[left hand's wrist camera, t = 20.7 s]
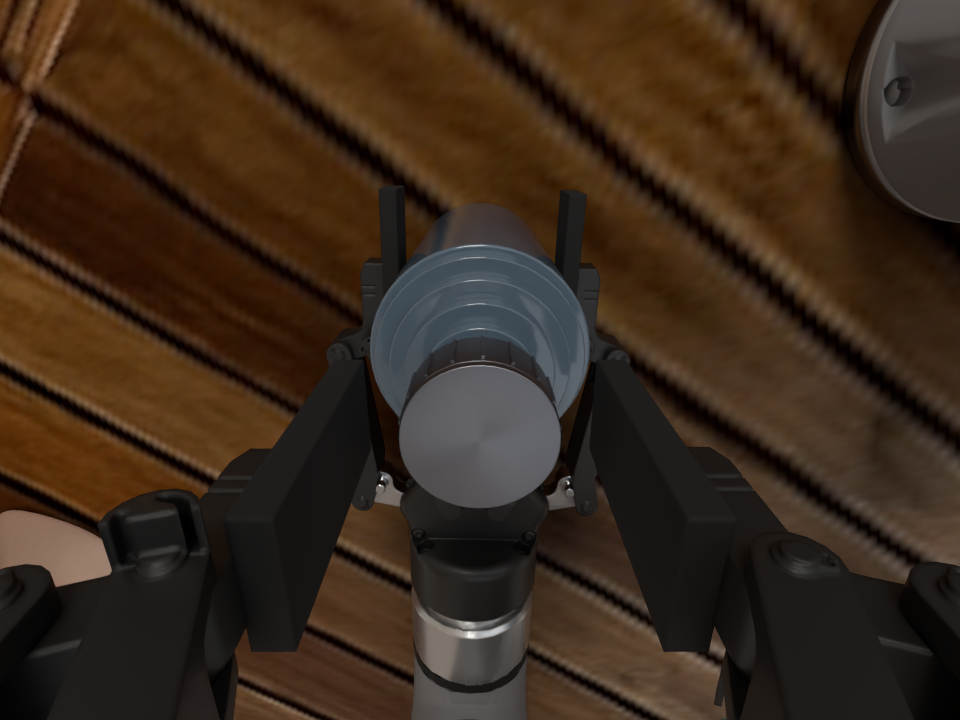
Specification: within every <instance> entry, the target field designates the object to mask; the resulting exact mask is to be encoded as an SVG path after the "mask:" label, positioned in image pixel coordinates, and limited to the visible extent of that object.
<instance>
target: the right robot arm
mask: <svg viewBox="0 0 960 720" xmlns="http://www.w3.org/2000/svg"><path fill="white" fill-rule="evenodd" d="M585 206H586V194H584V193H581V192H579V191H576V190H560V203H559V216H558V229H557V242H556V255H555V266H556V267H557V269H558V270H559V271H560V273H561V274H562V276H563V277H564V279H565V280H566V282H567V283H568V285H569V286H570V288H571V289H572V291H573V293H574V294H575V296H576V298H577V299H578V301H579V303H580V305H581V307H582V310H583V312H584V314H585V318H586V321H587V325H588V329H589V338H590V357H589V361H591V364H590V367H589V371H588V375H587V378H586V382H585V386H584V389H583V393H582V397H581V400H580V404H579V408H578V411H577V415H576V419H575V422H574V426H573V430H572V433H571V437H570V441H569V444H568V449H567V455H566V464H567V466H561V467H560V468H559V470H558V471H557V473H556V475H555V480H554V482H553V483H552V484H551V485H549V486H546V487H545V486H544V485H543V484H541V485H540V486H539V487H537V488H536V489H535V490H534V491H533V492H531V493H530V494H528V495H527V496H525V497H523V498H521V499H519V500H517V501H515V502H512V503H509V504H506V505H502V506H498V507H492V508H467V507H462V506H457V505H454V504H451V503H448V502H445V501H443V500H441V499H439V498H437V497H435V496H434V495H432V494H430V493H429V492H428V491H426V490H425V489H424V488H422V487H421V486H420V485H419V484H418V483H417V482H416V481H415V479H414V478H413V477H412V476H411V477H410V478H409V480H408V481H407V482H406V483H402V482H400V481H399V480H398V479H397V478H396V474H395V470H394V468H393V467H392V464H391V463H390V462H388V461H385V462H384V459H385V446H384V440H383V436H382V431H381V427H380V422H379V418H378V413H377V408H376V404H375V399H374V395H373V390H372V386H371V381H370V377H369V372H368V367H367V363H366V358H365V356H368V358H369V360H370V362H371V357H370V337H371V330H372V325H373V321H374V318H375V314H376V312H377V309H378V307H379V305H380V303H381V301H382V299H383V297H384V296H385V294H386V293H387V291H388V289H389V288H390V286H391V285H392V283H393V282H394V280H395V279H396V277H397V276H398V275H399V273H400V272H401V270H402V269H403V267H404V266H405V264H406V231H405V193H404V186H386V187H383V188H380V189H379V209H380V232H381V255H382V258H369V259H368V260H367V261H366V262H365V263H364V265H363V268H362V271H361V273H360V275H361V292H362V309H363V325H361V326H359V327H356V328H353V329H349V328H347V329H344V330H343V331H341V332H340V334H339V335H338V336H337V337H336V339H335V340H334V341H333V343H332V344H331V345H330V346H329V348H328V350H327V360H328V364H329V367H330V366H331V365H332V363H333V362H334V360H363V362H364V374H365V385H366V397H367V408H368V420H369V431H370V443H371V450H370V453H369V456H368V458H367V461H366V464H365V466H364V469H363V472H362V475H361V477H360V480H359V483H358V485H357V488H356V491H355V494H354V496H353V499H352V504H353V506H354V507H355V508H356V509H358V510H361V511H366V510H369V509H370V508H371V507H372V506H373V503H374V502H378V503H383V504H388V505H394V506H399V507H400V509H401V512H402V514H403V515H404V517H405V518H406V520H407V521H408V523H409V527H410V552H411V579H412V584H413V585H412V591H411V592H412V613H413V641H414V697H413V707H412V715H411V720H527V708H526V669H527V652H528V643H529V637H530V627H531V615H532V602H533V584H534V575H535V563H536V550H537V538H538V529H539V526H540V524H541V523H542V521H543V520H544V519H545V518H546V516H547V514H548V512H549V510H554V509H561V508H568V507H576V510H577V512H578V513H579V514H581V515H583V516H588V515H591V514H593V513H594V512H595V511H596V510H597V497H596V488H595V477H596V474H597V469H596V466H595V464H594V461H593V458H592V456H591V453H590V450H589V443H590V431H591V420H592V408H593V397H594V385H595V374H596V362H597V360H626V362H627V363H628V365H629V364H630V358H629V355H628V354H627V353H626V351H625V350H624V348H623V347H622V346H621V344H620V343H619V342H618V340H617V339H616V338H615V337H614V336H612V335H604V334H601V333H599V332H597V331H595V323H596V314H597V305H598V296H599V287H600V277H599V274H598V270H597V268H596V267H594V266H593V265H592V264H591V263H580V258H581V248H582V237H583V227H584V216H585ZM396 415H397V414H396ZM397 417H398V419H399V416H398V415H397ZM722 720H727V719H722Z"/></svg>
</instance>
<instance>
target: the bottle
mask: <svg viewBox="0 0 960 720" xmlns="http://www.w3.org/2000/svg"><path fill="white" fill-rule="evenodd" d="M481 335H482V336H484V337H489V338H496V339H500V340H504V341H506V342H509V341H511V342H512V344H514V345H516V346H517V347H519V348H521V349H522V350H524V351H525V352H527V353H528V354H529V355H530V356H532V355H533V356H534V357H535V360H536V362H537V363H538V364H539V366H540V367H541V369H542V370H543V372H544V373H545V376H546V377H549V379H550V383H551V386H552V389H553V392H554V396H555V399H556V402H557V403H556V404H555V406H556V409H557V412H558V416H559V419H560V417H561V416H562V415H563V414H564V413H565V412H566V410H567V409H568V408H569V407H570V406H571V404H572V403H573V401H574V399H575V398H576V396H577V395H578V393H579V391H580V389H581V386H582V384H583V382H584V379H585V376H586V372H587V369H588V363H589V357H590V338H589V329H588V325H587V321H586V318H585V314H584V312H583V310H582V307H581V305H580V303H579V301H578V299H577V298H576V296H575V294H574V293H573V291H572V289H571V288H570V286H569V285H568V283H567V282H566V280H565V279H564V277H563V276H562V274H561V273H560V271H559V270H558V269H557V267H556V266H555V264H554V263H553V261H552V260H551V258H550V257H549V255H548V254H547V252H546V251H545V249H544V248H543V246H542V245H541V243H540V242H539V240H538V239H537V237H536V236H535V234H534V233H533V231H532V230H531V229H530V227H529V226H528V225H527V224H526V223H525V222H524V221H523V220H522V219H521V218H520V217H519V216H517V215H516V214H515V213H513V212H511V211H509V210H508V209H506V208H503V207H500V206H497V205H493V204H486V203H473V204H467V205H463V206H460V207H457V208H455V209H453V210H451V211H449V212H447V213H445V214H444V215H443V216H441V217H440V218H439V219H438V220H437V221H436V222H435V223H434V224H433V225H432V226H431V227H430V228H429V230H428V231H427V233H426V234H425V236H424V237H423V239H422V240H421V242H420V243H419V245H418V246H417V248H416V249H415V251H414V252H413V254H412V255H411V257H410V258H409V260H408V261H407V263H406V264H405V266H404V267H403V269H402V270H401V272H400V273H399V275H398V276H397V277H396V279H395V280H394V282H393V283H392V285H391V286H390V288H389V289H388V291H387V293H386V294H385V296H384V297H383V299H382V301H381V303H380V305H379V307H378V309H377V312H376V314H375V318H374V321H373V325H372V330H371V337H370V357H371V364H372V369H373V372H374V376H375V379H376V382H377V384H378V386H379V389H380V391H381V393H382V395H383V396H384V398H385V400H386V401H387V403H388V404H389V406H390V407H391V408H392V409H393V411H394V412H395V413H396V414H397V415H398V416H399V418H400V415H401V411H402V408H403V405H404V402H405V398H406V395H407V391H408V388H409V385H410V382H411V378H412V375H413V373H414V372H417V370H418V368H419V367H420V366H421V364H422V363H423V362H424V361H425V360H426V359H427V358H428V356H429V353H431V352H432V353H433V352H435V351H436V350H437V349H439V348H441V347H443V346H444V345H446V344H449V343H451V342H453V340H455V339H456V340H460V339H464V338H470V337H481Z"/></svg>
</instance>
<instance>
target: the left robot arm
mask: <svg viewBox="0 0 960 720" xmlns="http://www.w3.org/2000/svg"><path fill="white" fill-rule="evenodd" d="M845 127H846V134H847V139H848V144H849V147H850V151H851V154H852V157H853V159H854V162H855V164H856V166H857V168H858V170H859V172H860V173H861V175H862V177H863V178H864V180H865V181H866V182H867V184H868V185H869V186H870V187H871V188H872V189H873V191H874V192H875V193H876V194H877V195H878V196H880V197H881V198H882V199H884V200H885V201H886V202H887V203H889V204H891V205H892V206H894V207H896V208H897V209H899V210H902V211H904V212H906V213H909V214H912V215H915V216H919V217H923V218H929V219H935V220H942V221H949V222H956V223H960V0H879V1H878V2H877V4H876V6H875V7H874V9H873V11H872V13H871V15H870V16H869V18H868V20H867V22H866V25H865V27H864V29H863V31H862V33H861V35H860V38H859V41H858V43H857V46H856V49H855V52H854V55H853V58H852V62H851V65H850V69H849V74H848V79H847V84H846V93H845ZM370 450H371V443H370V431H369V420H368V408H367V397H366V385H365V374H364V362H363V360H334V362H333V363H332V365H331V366H330V367H329V369H328V370H327V372H326V373H325V374H324V376H323V377H322V379H321V380H320V382H319V383H318V384H317V386H316V387H315V389H314V390H313V392H312V393H311V394H310V396H309V397H308V399H307V400H306V402H305V403H304V404H303V406H302V407H301V409H300V410H299V411H298V413H297V414H296V416H295V417H294V419H293V420H292V421H291V423H290V424H289V426H288V427H287V429H286V430H285V431H284V433H283V434H282V436H281V437H280V439H279V440H278V441H277V443H276V444H275V446H274V447H273V448H272V449H250V450H248V451H246V452H245V453H243V454H242V455H240V456H239V457H237V458H236V459H234V460H233V461H231V462H230V463H229V464H228V466H227V467H226V468H225V469H224V471H223V472H222V473H221V474H220V475H219V477H218V480H215V482H214V483H213V484H212V485H211V487H210V488H209V489H208V493H205V494H204V495H203V497H202V498H201V499H200V500H199V498H198V497H197V496H196V495H194V494H193V493H192V492H191V491H186V490H181V489H167V490H158V491H154V492H150V493H146V494H142V495H139V496H137V497H135V498H132V499H130V500H128V501H125V502H123V503H121V504H120V505H118V506H117V507H115V508H114V509H112V510H111V511H109V512H108V513H107V514H106V515H105V516H104V517H103V518H102V520H101V521H100V522H99V523H98V524H97V526H98V529H99V532H100V536H101V539H102V542H103V545H104V548H105V551H106V554H107V557H108V560H109V563H110V566H111V569H112V571H111V573H110V575H107V576H103V577H99V578H94V579H90V580H85V581H81V582H76V583H72V584H67V585H63V586H58V587H56V586H55V583H54V581H53V578H52V575H51V573H50V571H48V570H47V569H46V568H44V567H43V566H42V565H32V564H23V565H17V566H11V567H5V568H2V569H0V720H233V717H234V708H235V699H236V689H237V680H238V666H237V660H236V656H235V649H236V647H237V645H238V643H239V641H240V639H241V637H242V635H243V633H244V631H245V628H246V629H247V633H248V638H249V643H250V647H251V652H296V651H297V648H298V645H299V643H300V640H301V637H302V635H303V632H304V629H305V626H306V624H307V621H308V618H309V616H310V613H311V610H312V607H313V605H314V602H315V599H316V597H317V594H318V591H319V588H320V586H321V583H322V580H323V578H324V575H325V572H326V570H327V567H328V564H329V561H330V559H331V556H332V553H333V551H334V548H335V545H336V542H337V540H338V537H339V534H340V532H341V529H342V526H343V523H344V521H345V518H346V515H347V513H348V510H349V507H350V504H351V502H352V499H353V496H354V494H355V491H356V488H357V485H358V483H359V480H360V477H361V475H362V472H363V469H364V466H365V464H366V461H367V458H368V456H369V453H370ZM589 450H590V453H591V456H592V458H593V461H594V464H595V466H596V469H597V472H598V475H599V477H600V480H601V483H602V485H603V488H604V491H605V494H606V496H607V499H608V502H609V504H610V507H611V510H612V513H613V515H614V518H615V521H616V523H617V526H618V529H619V532H620V534H621V537H622V540H623V542H624V545H625V548H626V551H627V553H628V556H629V559H630V561H631V564H632V567H633V570H634V572H635V575H636V578H637V580H638V583H639V586H640V588H641V591H642V594H643V597H644V599H645V602H646V605H647V607H648V610H649V613H650V616H651V618H652V621H653V624H654V626H655V629H656V632H657V635H658V637H659V640H660V643H661V645H662V648H663V651H664V652H709V647H710V643H711V638H712V633H713V629H714V626H715V628H716V630H717V632H718V634H719V636H720V638H721V640H722V642H723V644H724V646H725V648H726V651H725V656H724V660H723V664H722V668H721V673H720V677H719V681H718V685H717V690H716V695H715V701H714V705H718V706H722V702H723V698H724V697H725V706H726V715H727V720H960V566H957V565H952V564H946V563H940V562H926V563H919V564H918V565H916V566H915V567H913V568H912V569H911V570H910V573H909V575H908V578H907V581H906V583H905V585H904V584H899V583H894V582H890V581H885V580H881V579H876V578H872V577H867V576H862V575H858V574H855V573H851V572H849V570H848V569H847V567H846V566H845V564H844V563H843V562H842V560H841V559H840V557H838V556H837V555H836V554H834V553H833V552H832V551H831V550H829V549H828V548H827V547H826V546H824V545H822V544H820V543H818V542H816V541H814V540H812V539H810V538H808V537H805V536H801V535H798V534H794V533H791V532H788V531H787V530H786V529H785V527H784V526H783V525H782V524H781V522H780V521H779V520H778V519H777V517H776V516H775V515H774V514H773V513H772V511H771V510H770V509H769V508H768V506H767V505H766V504H765V503H764V502H763V500H762V499H761V498H760V497H759V495H758V494H757V493H756V492H755V491H753V490H752V487H751V486H750V484H749V483H748V482H747V481H746V479H745V478H742V474H741V473H740V472H739V471H738V470H737V468H736V467H735V466H734V465H733V463H732V462H731V461H730V460H729V459H727V458H726V457H724V456H723V455H721V454H720V453H718V452H716V451H715V450H713V449H712V448H710V447H686V446H685V444H684V443H683V441H682V440H681V439H680V437H679V436H678V434H677V433H676V431H675V430H674V429H673V427H672V426H671V424H670V423H669V421H668V420H667V419H666V417H665V416H664V414H663V413H662V411H661V410H660V409H659V407H658V406H657V404H656V403H655V402H654V400H653V399H652V397H651V396H650V394H649V393H648V392H647V390H646V389H645V387H644V386H643V384H642V383H641V382H640V380H639V379H638V377H637V376H636V374H635V373H634V372H633V370H632V369H631V367H630V366H629V365H628V363H627V362H626V360H597V362H596V374H595V385H594V397H593V408H592V420H591V431H590V443H589Z"/></svg>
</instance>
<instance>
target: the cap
mask: <svg viewBox="0 0 960 720" xmlns="http://www.w3.org/2000/svg"><path fill="white" fill-rule="evenodd" d="M556 403H557V402H556V399H555V396H554V392H553V389H552V386H551V383H550V379H549V377H546V376H545V373H544V372H543V370H542V369H541V367H540V366H539V364H538V363H537V362H536V360H535V357H534V356H533V355H532V356H530V355H529V354H528V353H527V352H525V351H524V350H522V349H521V348H519V347H517V346H516V345H514V344H512V342H511V341H509V342H506V341H504V340H500V339H496V338H489V337H484V336H482V335H481V337H470V338H464V339H460V340H456V339H455V340H453V342H451V343H449V344H446V345H444V346H443V347H441V348H439V349H437V350H436V351H435V352H433V353H432V352H431V353H429V356H428V358H427V359H426V360H425V361H424V362H423V363H422V364H421V366H420V367H419V368H418V370H417V372H414V373H413V375H412V378H411V382H410V385H409V388H408V391H407V395H406V398H405V402H404V405H403V408H402V411H401V415H400V418H399V421H398V424H399V431H398V441H399V449H400V453H401V457H402V459H403V462H404V464H405V466H406V468H407V469H408V471H409V473H410V474H411V476H412V477H413V478H414V479H415V481H416V482H417V483H418V484H419V485H420V486H421V487H422V488H424V489H425V490H426V491H428V492H429V493H430V494H432V495H434V496H435V497H437V498H439V499H441V500H443V501H445V502H448V503H451V504H454V505H457V506H462V507H467V508H492V507H498V506H502V505H506V504H509V503H512V502H515V501H517V500H519V499H521V498H523V497H525V496H527V495H528V494H530V493H531V492H533V491H534V490H535V489H536V488H537V487H539V486H540V485H541V484H542V483H543V482H544V480H545V479H546V478H547V477H548V475H549V474H550V473H551V471H552V470H553V468H554V466H555V464H556V462H557V459H558V456H559V453H560V448H561V441H562V432H561V430H562V426H561V422H560V419H559V416H558V412H557V409H556V406H555V404H556Z"/></svg>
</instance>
